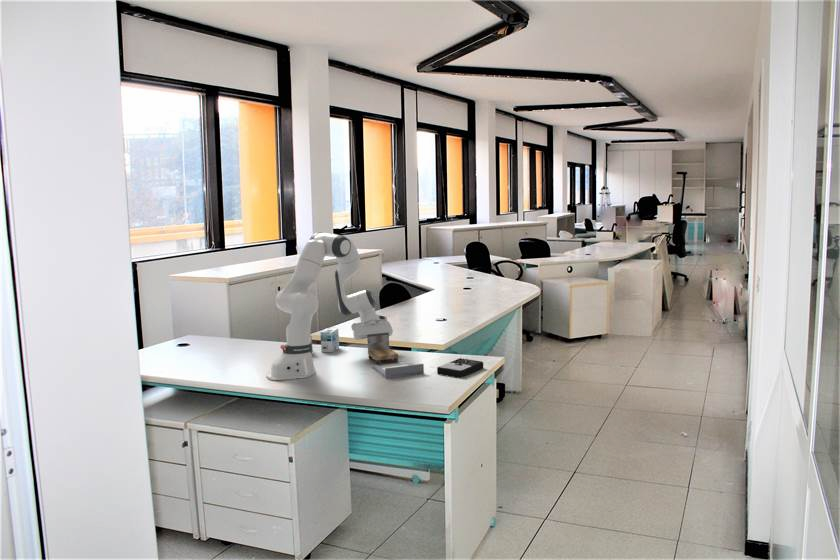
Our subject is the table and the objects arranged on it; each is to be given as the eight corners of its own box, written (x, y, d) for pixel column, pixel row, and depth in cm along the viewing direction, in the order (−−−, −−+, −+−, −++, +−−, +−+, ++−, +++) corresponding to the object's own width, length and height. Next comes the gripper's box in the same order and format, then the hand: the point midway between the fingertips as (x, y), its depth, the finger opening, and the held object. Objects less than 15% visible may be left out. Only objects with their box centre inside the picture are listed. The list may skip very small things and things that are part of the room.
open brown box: (376, 365, 329) (375, 340, 328) (367, 358, 342) (366, 334, 341) (398, 362, 333) (397, 337, 332) (389, 355, 346) (388, 332, 345)
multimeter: (483, 369, 317) (483, 358, 317) (461, 379, 302) (460, 368, 302) (460, 365, 325) (459, 355, 325) (436, 375, 310) (436, 364, 309)
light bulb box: (333, 352, 358) (332, 332, 356) (320, 352, 359) (319, 332, 358) (339, 347, 368) (338, 328, 367) (327, 347, 370) (326, 327, 368)
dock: (386, 380, 305) (385, 368, 304) (370, 368, 327) (370, 357, 326) (423, 375, 311) (423, 364, 311) (406, 364, 333) (405, 353, 332)
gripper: (351, 320, 348) (357, 342, 340) (389, 316, 355) (396, 338, 347) (349, 327, 352) (355, 349, 345) (387, 323, 360) (393, 345, 352)
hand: (376, 343), depth 346 cm, fingers closed
